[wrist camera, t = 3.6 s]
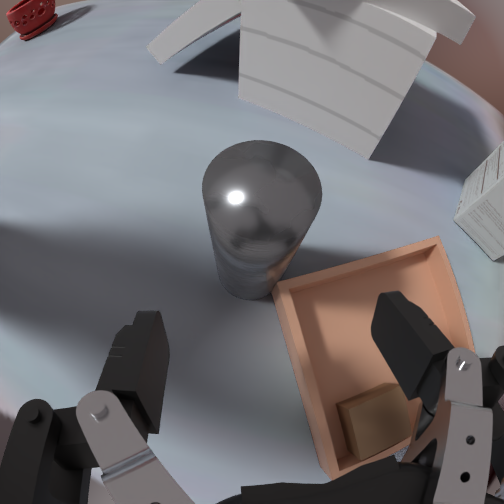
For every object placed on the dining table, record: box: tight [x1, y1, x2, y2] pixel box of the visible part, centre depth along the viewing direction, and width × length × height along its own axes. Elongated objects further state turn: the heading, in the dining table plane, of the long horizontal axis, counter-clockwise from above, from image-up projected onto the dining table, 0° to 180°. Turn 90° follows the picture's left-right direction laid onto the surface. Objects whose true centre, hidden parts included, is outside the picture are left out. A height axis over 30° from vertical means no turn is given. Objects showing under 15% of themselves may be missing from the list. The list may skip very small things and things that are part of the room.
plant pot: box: [7, 0, 58, 40], centre depth 34 cm, size 13×13×12 cm
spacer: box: [202, 140, 322, 300], centre depth 16 cm, size 5×5×11 cm
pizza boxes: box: [146, 0, 476, 159], centre depth 21 cm, size 19×30×18 cm, turn 59°
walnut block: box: [336, 382, 412, 460], centre depth 16 cm, size 4×4×2 cm
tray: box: [271, 236, 475, 480], centre depth 18 cm, size 14×14×3 cm
